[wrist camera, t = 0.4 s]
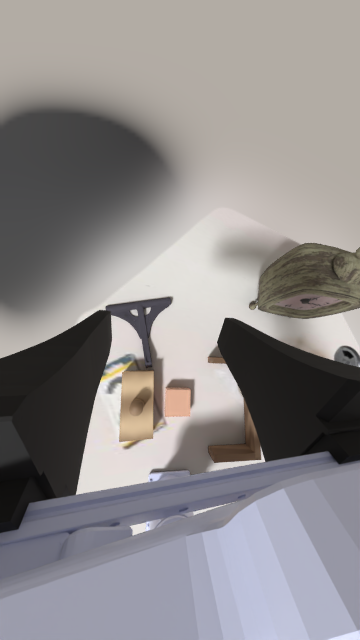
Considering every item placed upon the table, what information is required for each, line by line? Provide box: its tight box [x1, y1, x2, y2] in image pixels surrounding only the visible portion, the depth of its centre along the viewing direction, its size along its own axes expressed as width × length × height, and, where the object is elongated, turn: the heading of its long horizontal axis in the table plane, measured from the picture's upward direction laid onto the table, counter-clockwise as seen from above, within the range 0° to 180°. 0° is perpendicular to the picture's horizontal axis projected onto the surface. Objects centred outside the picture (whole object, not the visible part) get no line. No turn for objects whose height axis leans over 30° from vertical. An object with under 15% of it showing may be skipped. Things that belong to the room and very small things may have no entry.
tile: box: [164, 388, 191, 417], centre depth 35 cm, size 5×5×2 cm
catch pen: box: [208, 357, 261, 463], centre depth 36 cm, size 19×10×4 cm, turn 178°
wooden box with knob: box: [119, 370, 154, 442], centre depth 33 cm, size 12×6×6 cm, turn 1°
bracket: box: [106, 297, 171, 368], centre depth 37 cm, size 14×15×3 cm
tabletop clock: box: [249, 243, 360, 319], centre depth 33 cm, size 14×9×25 cm, turn 81°
